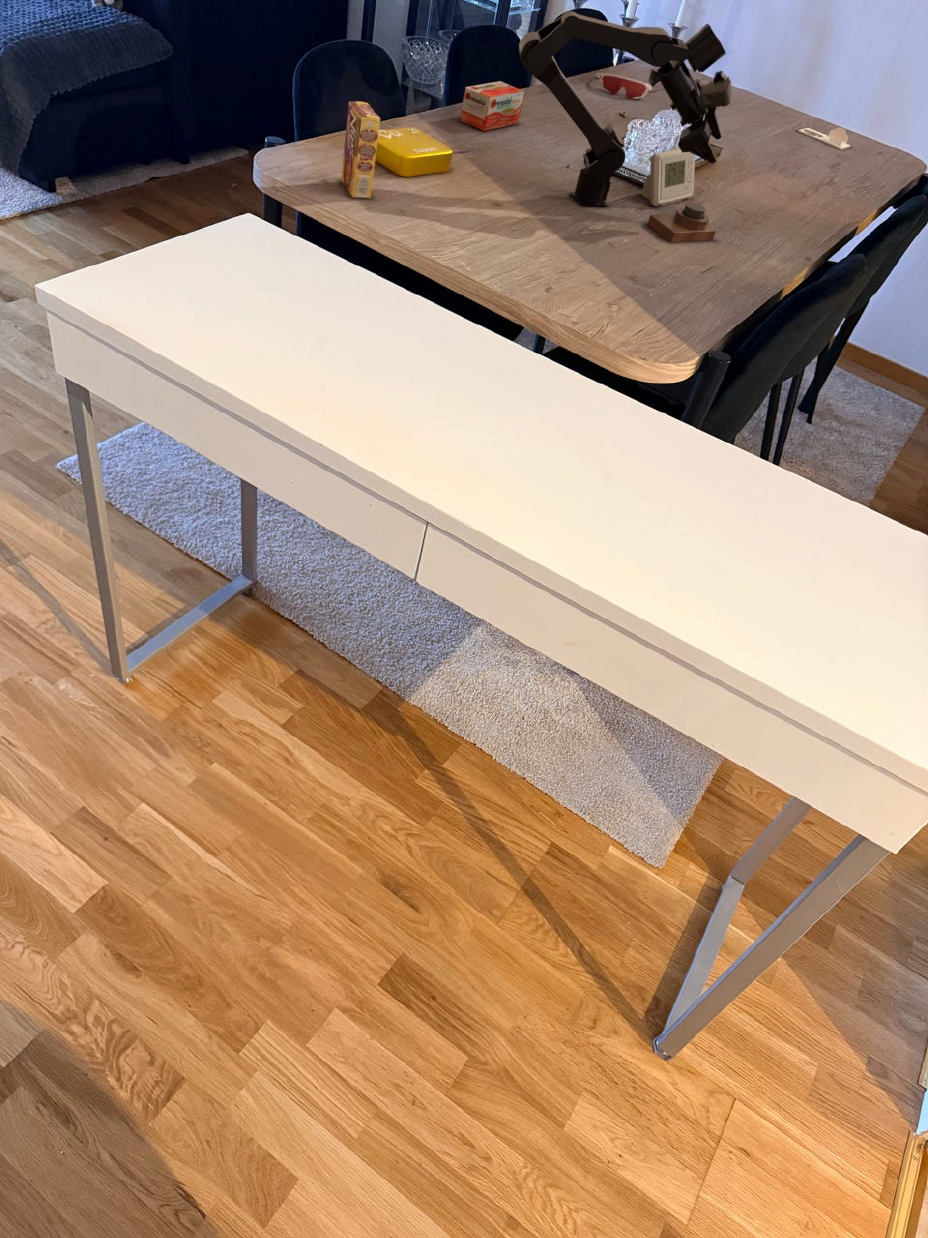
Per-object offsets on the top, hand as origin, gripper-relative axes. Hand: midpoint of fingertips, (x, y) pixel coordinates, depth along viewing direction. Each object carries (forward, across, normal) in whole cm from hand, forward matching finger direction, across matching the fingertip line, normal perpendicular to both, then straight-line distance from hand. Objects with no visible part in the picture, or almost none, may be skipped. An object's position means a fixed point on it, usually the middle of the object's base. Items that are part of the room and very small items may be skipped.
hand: (716, 150), depth 200 cm
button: (+5, -12, +7) cm, 15 cm away
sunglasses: (+8, +87, +47) cm, 99 cm away
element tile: (-40, -16, +53) cm, 68 cm away
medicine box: (-24, +25, +54) cm, 64 cm away
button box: (+6, -14, +10) cm, 18 cm away
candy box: (-47, -38, +51) cm, 79 cm away
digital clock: (+6, +4, +17) cm, 19 cm away
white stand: (+56, +91, +5) cm, 107 cm away
